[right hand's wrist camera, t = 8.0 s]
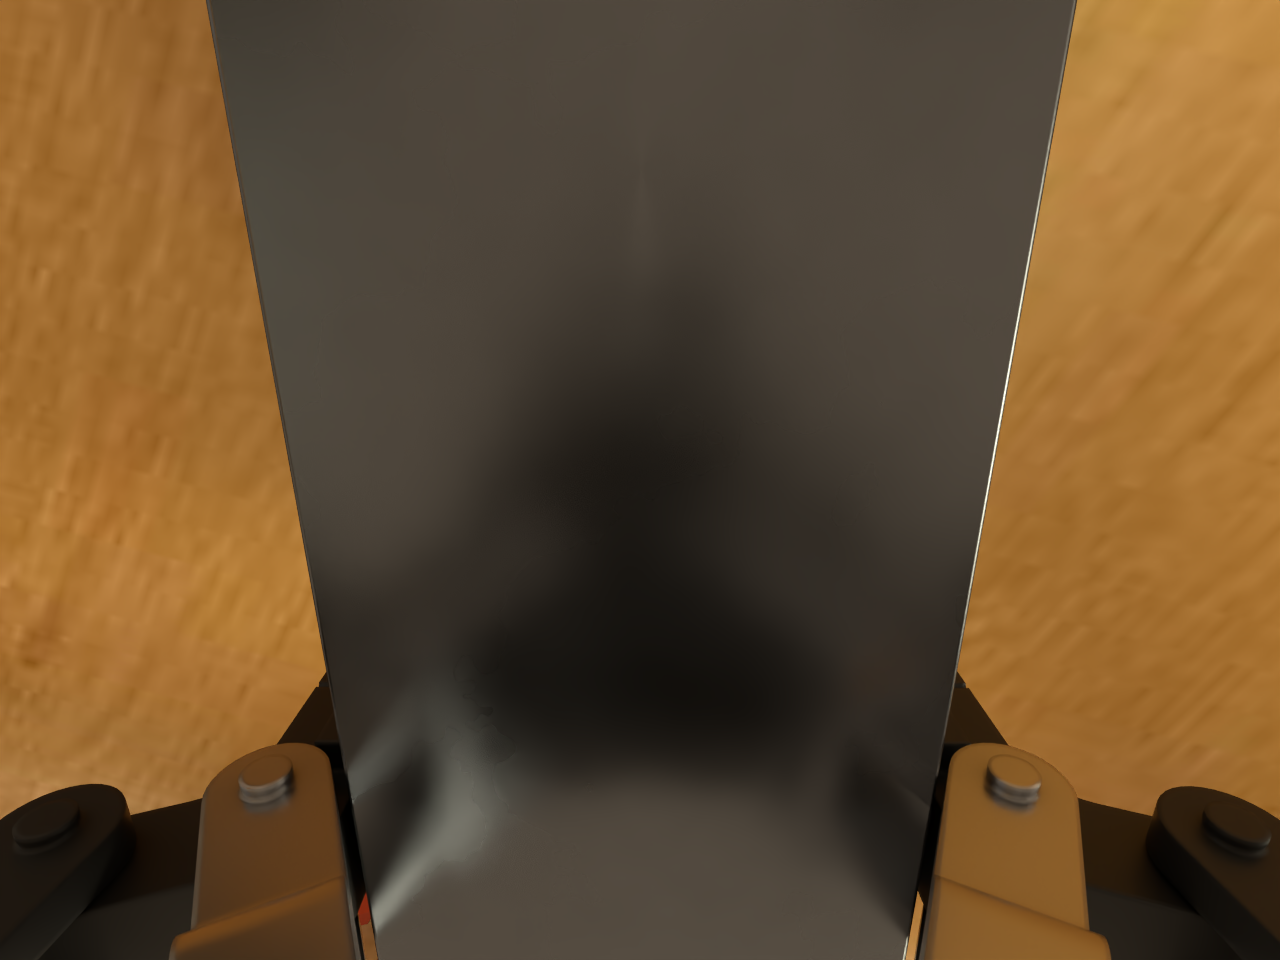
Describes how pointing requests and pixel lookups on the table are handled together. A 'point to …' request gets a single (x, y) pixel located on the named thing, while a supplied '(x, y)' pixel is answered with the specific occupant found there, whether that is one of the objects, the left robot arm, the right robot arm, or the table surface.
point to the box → (641, 440)
